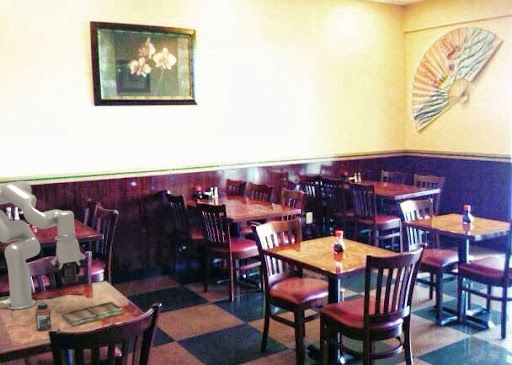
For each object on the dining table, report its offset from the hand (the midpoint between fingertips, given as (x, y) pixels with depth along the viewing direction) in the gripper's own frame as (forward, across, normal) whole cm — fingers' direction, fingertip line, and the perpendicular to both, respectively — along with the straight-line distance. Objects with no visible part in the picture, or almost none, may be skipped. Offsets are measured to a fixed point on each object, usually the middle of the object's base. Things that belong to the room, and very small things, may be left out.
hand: (69, 275), depth 251 cm
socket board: (+19, +6, -9) cm, 22 cm away
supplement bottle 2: (+4, 0, 0) cm, 4 cm away
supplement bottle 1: (+18, -16, -11) cm, 27 cm away
